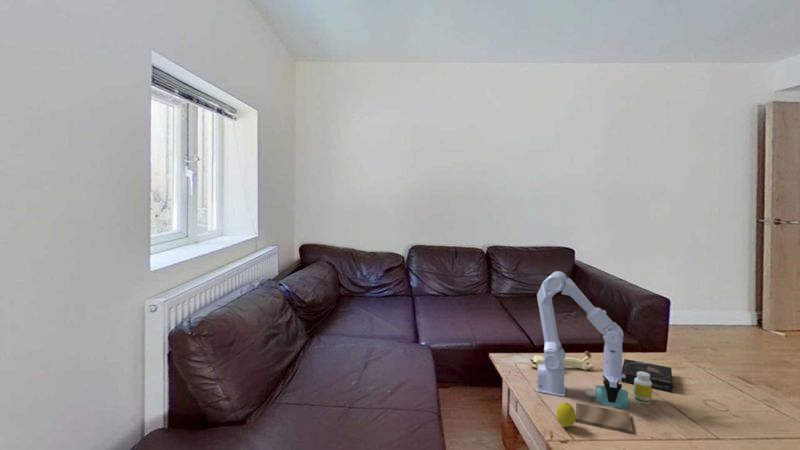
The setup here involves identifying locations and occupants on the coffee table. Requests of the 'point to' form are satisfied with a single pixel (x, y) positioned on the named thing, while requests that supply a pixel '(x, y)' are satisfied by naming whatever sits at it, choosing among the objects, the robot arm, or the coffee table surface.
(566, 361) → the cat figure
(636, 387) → the supplement bottle
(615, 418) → the serving board
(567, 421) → the lemon
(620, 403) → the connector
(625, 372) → the portable cd player
